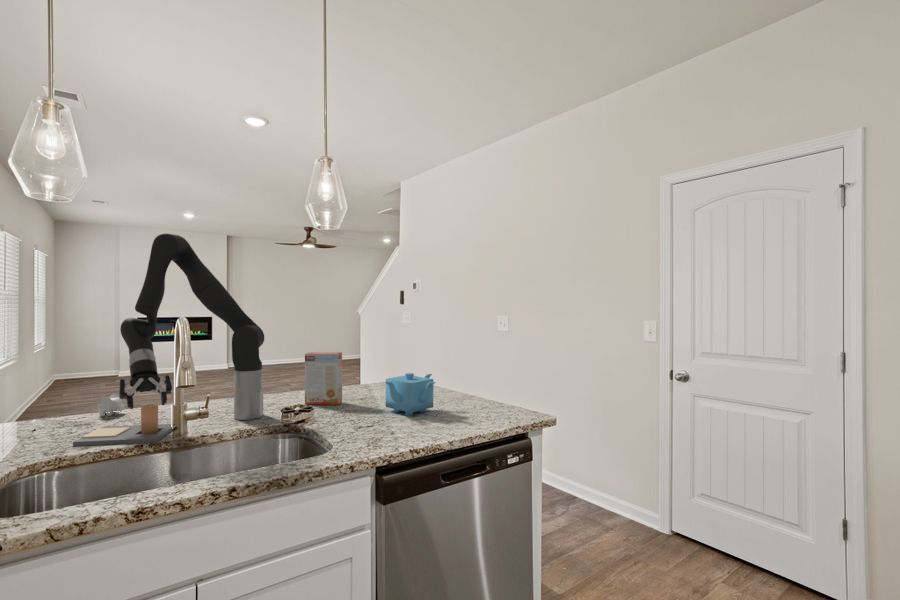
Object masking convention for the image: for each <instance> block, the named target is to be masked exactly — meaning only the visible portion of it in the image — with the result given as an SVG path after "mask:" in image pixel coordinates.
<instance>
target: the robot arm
mask: <svg viewBox="0 0 900 600" xmlns="http://www.w3.org/2000/svg"><path fill="white" fill-rule="evenodd" d="M148 260H149V261H148V265H147V270H146V273H145V278H144V282H143V284H142V288H141V290H140V293H139V296H138V297H137V298H138V299H137V300H136V303H135V306H134V309H135V311H136V312H137V313H139V314H141V315H144V316H146V319H141V318H140V319H139V318H135V317H127V318H125V319H124V320H123V321H122V322H121V324H120V327H119V328H120V330H119V331H120V335H121V337H122V338H123V341H124V342H125V344H126V347H127V348H128V354H129V355H128V356H129V360H128V364H129V366H128V367H129V373H130V380H125V379H124V378H123V379H120V380H119V389H118V390H119V394H118V395H119V398H120V399H122V400H124V399H125V400H126V405H127V407H126V408H129V409H130V410H133V409H134V396H136V394H137V393H138V392H139V393H144V392H152V391H153V392H154V393H156V394H159V395H160V400H161V401H160V403H161V406H165V405H166V404H167V401H168V397H167V395H168V394H169V395H170V394H172V389H173V385H172V381H171V378H170V375H168V374H167V375H165V376H164V377H163V376H162V377H160V376H159V373H158V367H157V360H156V356H155V351H154V345H153V341H152V338H154V336H155V335H156V333H157V319H158V312H159V309H160V306H161V304H162V301H163V299H164V295H165V292H166V291H165V287H166V286H165V285H166V281H165V280H166V275H167V270H168V268H169V266H170V264H171V262H173V263H174V264H175V265H177V267H179V269H180V270H181V271H182V272H183V273H184V275H185V276H186V278H187V281H188V283H189V287H190V289H191V290H192V291H191V292H193V294H194V295H195V297H196V298H197V299H198V300H199V301H200V303H201V304H202V305H203V306H204V307H205V308H206V310H208V311H210V312H211V313H212V314H213V315H215V316H216V317H217V318H219V319H221V320H222V321H223V322H224V323H225V324H226V325H228V326H229V328H230V329H231V331H232V332H233V334H232V336H231V360H232V364H233V368H234V369H233V370H234V372H233V376H234V377H233V379H234V380H233V384H234V385H233V386H234V387H233V388H234V389H233V394H234V397H233V410H234V411H233V417H234V419H235V420H236V421H237V420H239V421H249V420H255V419H261V417H262V416H263V415H264V389H263V361H262V360H261V358H260V347H262V345H263V344H264V342H265V333H264V331H263V329H262V328H261V327H260V325H258V324H257V323H256V322H255V321H254V320H253V319H252V318H250V317H249V316H248V315H247V314H246V312H244V310H243V309H242V308H241V306H240V305H239V303H237V301H236V300H235V299H234V298H233V296H232V295H231V293H230V292H228V290H227V289H226V288H225V287H224V286H223V283H221V282H220V281H219V280H218V279H217V277H216V276H215V275H214V274H213V273H212V272H211V270H209V268H208V267H207V266H206V265H205V264H204V263H203V261H201V259H200V257H198V255H197V254H196V252H195V250H194V249H193V248H192V246H191V245H190V243H189V242H188V240H187V239H185V238H184V237H183V236H182V235H178V234H173V233H167V232H165V233H163V232H162V233H160V234H158V235H156V236H155V238H154V239H153V241H152V244H151V248H150V254H149V259H148ZM160 382H161V383H162V384H163V385H165V387H163V386H162V384H160ZM128 386H131V389H130V390H129V391H128V392H126V390H125V389H126V388H127V387H128Z"/></svg>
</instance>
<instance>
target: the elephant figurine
mask: <svg viewBox="0 0 900 600" xmlns="http://www.w3.org/2000/svg"><path fill="white" fill-rule="evenodd" d="M96 405H98V409H97V411H98V414H99V416H100V417H106V416H107V417H111V416H113V415H115V414H117V413H118V414H119V413H121V412H123V411H122V410H124V411H125V407H126V408H128V407H127V404H125V403H124V402H123V399H120V398H119V394H118V393H112V394H111V395H110V396H109V397H102V398H101V399H100V401H99V402H98V403H97V404H96ZM113 411H120V412H113ZM106 412H107V413H106ZM108 412H110V413H108ZM114 413H115V414H114ZM105 414H106V415H105Z"/></svg>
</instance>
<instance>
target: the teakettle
mask: <svg viewBox="0 0 900 600" xmlns="http://www.w3.org/2000/svg"><path fill="white" fill-rule="evenodd" d="M431 376H433V373H428V374H425V376H423V377H422V376H419V375H418V376H417V375H415V373H413V372H408V373H404V375H400V376H393V377H389V378H385V381H384V384H385V408H389V409H393V410H392V411H391V412H392V413H394V414H398V413H400V412H405V416H406V417H413V416H414V413H417V412H419V413H427V409H431V408H434V384H436V383H437V382H436V381H434V378H430V377H431Z"/></svg>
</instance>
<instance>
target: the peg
mask: <svg viewBox="0 0 900 600" xmlns="http://www.w3.org/2000/svg"><path fill="white" fill-rule="evenodd" d="M158 424H159V405H158V404H148V405H143V406H141V407H140V425H141V434H156V433H158Z"/></svg>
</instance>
